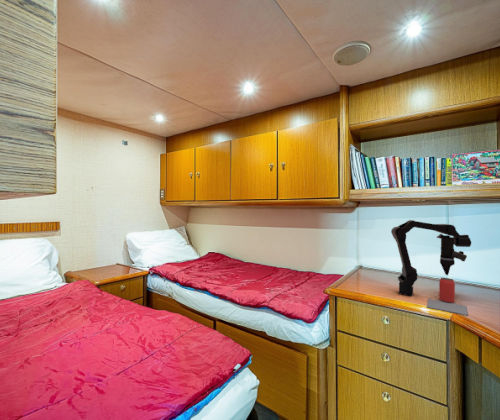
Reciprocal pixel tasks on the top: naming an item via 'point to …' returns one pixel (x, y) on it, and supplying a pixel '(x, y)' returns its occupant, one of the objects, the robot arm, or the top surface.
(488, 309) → the top surface
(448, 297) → the beer can
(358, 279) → the top surface
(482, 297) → the top surface
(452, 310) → the mat
